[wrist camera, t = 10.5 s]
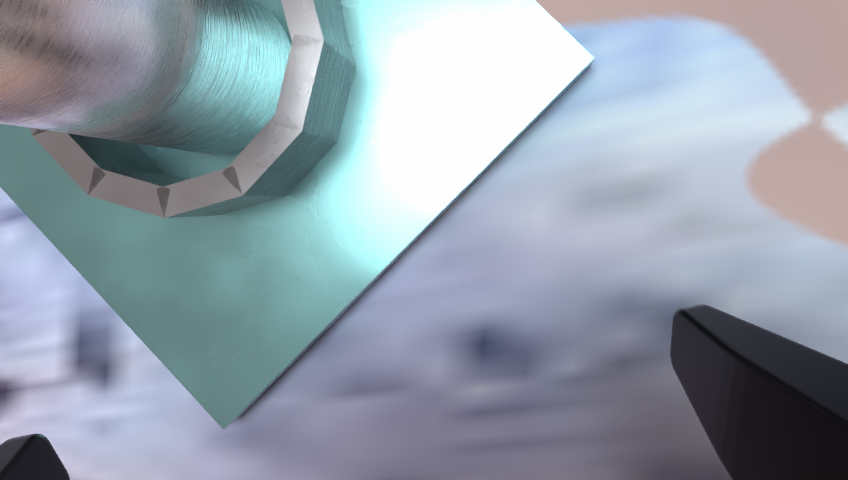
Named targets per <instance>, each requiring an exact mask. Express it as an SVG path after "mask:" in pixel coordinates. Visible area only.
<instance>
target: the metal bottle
mask: <svg viewBox="0 0 848 480" xmlns="http://www.w3.org/2000/svg"><path fill="white" fill-rule="evenodd" d="M290 48H291V44H290V41H289V38H288V36H287V34H286V32H285V30H284V28H283V26H282V25H281V23H280V22H279V20H278V19H277V18H276V17H275V16H274V14H273V13H272V12H271V11H270V10H269V9H268V8H266V7H265V6H264V5H263V4H262V3H260V2H259V1H258V0H0V124H7V125H14V126H21V127H27V128H34V129H41V130H48V131H55V132H62V133H68V134H75V135H82V136H89V137H96V138H103V139H109V140H116V141H123V142H130V143H137V144H144V145H151V146H157V147H164V148H171V149H178V150H185V151H192V152H198V153H205V154H214V155H224V154H232V153H236V152H240V151H243V150H244V149H245V147H246V146H247V145H248V144H249V143H250V142H251V141H252V140H253V139H254V138H255V136H256V135H257V134H258V133H259V132H260V131H261V130H262V129H263V128H264V127H265V125H266V124H267V123H268V122H269V121H270V120H271V119H272V118H273V117H274V115H275V112H276V108H277V104H278V99H279V95H280V91H281V87H282V82H283V78H284V74H285V70H286V65H287V61H288V57H289V53H290Z"/></svg>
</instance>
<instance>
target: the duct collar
mask: <svg viewBox="0 0 848 480" xmlns="http://www.w3.org/2000/svg"><path fill="white" fill-rule="evenodd" d="M258 1H259V2H260V3H262V4H263V5H264V6H265V7H266V8H268V9H269V10H270V11H271V12H272V13H273V14H274V16H275V17H276V18H277V19H278V20H279V22H280V23H281V25H282V26H283V28H284V30H285V32H286V34H287V36H288V38H289V41H290V44H291V48H290V53H289V57H288V61H287V65H286V70H285V74H284V78H283V82H282V87H281V91H280V95H279V99H278V104H277V108H276V112H275V115H274V117H273V118H272V119H271V120H270V121H269V122H268V123H267V124H266V125H265V127H264V128H263V129H262V130H261V131H260V132H259V133H258V134H257V135H256V136H255V138H254V139H253V140H252V141H251V142H250V143H249V144H248V145H247V146H246V147H245V149H244V150H243V151H240V152H236V153H232V154H224V155H214V154H205V153H198V152H192V151H185V150H178V149H171V148H164V147H157V146H151V145H144V144H137V143H130V142H123V141H116V140H109V139H103V138H96V137H89V136H82V135H75V134H68V133H62V132H55V131H48V130H41V129H34V128H27V127H21V126H14V125H7V124H0V187H1V188H2V189H3V190H4V191H5V192H6V193H7V195H8V196H9V197H10V198H11V199H12V200H13V201H14V202H15V203H16V204H17V205H18V206H19V208H20V209H21V210H22V211H23V212H24V213H25V214H26V215H27V216H28V217H29V218H30V220H31V221H32V222H33V223H34V224H35V225H36V226H37V227H38V228H39V229H40V230H41V231H42V233H43V234H44V235H45V236H46V237H47V238H48V239H49V240H50V241H51V242H52V243H53V245H54V246H55V247H56V248H57V249H58V250H59V251H60V252H61V253H62V254H63V255H64V256H65V258H66V259H67V260H68V261H69V262H70V263H71V264H72V265H73V266H74V267H75V268H76V270H77V271H78V272H79V273H80V274H81V275H82V276H83V277H84V278H85V279H86V280H87V281H88V283H89V284H90V285H91V286H92V287H93V288H94V289H95V290H96V291H97V292H98V293H99V295H100V296H101V297H102V298H103V299H104V300H105V301H106V302H107V303H108V304H109V305H110V306H111V308H112V309H113V310H114V311H115V312H116V313H117V314H118V315H119V316H120V317H121V318H122V320H123V321H124V322H125V323H126V324H127V325H128V326H129V327H130V328H131V329H132V330H133V331H134V333H135V334H136V335H137V336H138V337H139V338H140V339H141V340H142V341H143V342H144V343H145V345H146V346H147V347H148V348H149V349H150V350H151V351H152V352H153V353H154V354H155V355H156V356H157V358H158V359H159V360H160V361H161V362H162V363H163V364H164V365H165V366H166V367H167V368H168V370H169V371H170V372H171V373H172V374H173V375H174V376H175V377H176V378H177V379H178V380H179V381H180V383H181V384H182V385H183V386H184V387H185V388H186V389H187V390H188V391H189V392H190V393H191V395H192V396H193V397H194V398H195V399H196V400H197V401H198V402H199V403H200V404H201V405H202V406H203V408H204V409H205V410H206V411H207V412H208V413H209V414H210V415H211V416H212V417H213V418H214V420H215V421H216V422H217V423H218V424H219V425H220V426H221V427H222V428H223V429H225V428H226V427H227V426H229V425H230V424H231V423H233V422H234V421H235V420H236V419H238V418H239V417H240V416H241V415H242V414H243V413H244V412H245V411H246V410H247V409H248V408H249V407H250V406H251V405H252V404H253V403H254V402H255V401H256V400H257V399H258V398H259V397H260V396H261V395H262V394H263V393H264V392H265V391H266V390H267V389H268V388H269V387H270V386H271V385H272V384H273V383H274V382H275V381H276V380H277V379H278V378H279V377H280V376H281V375H282V374H283V373H284V372H285V371H286V370H287V369H288V368H289V367H290V366H291V365H292V364H293V363H294V362H295V361H296V360H297V359H298V358H299V357H300V356H301V355H302V354H303V353H304V352H305V351H306V350H307V349H308V348H309V347H310V346H311V345H312V344H313V343H314V342H315V341H316V340H317V339H318V338H319V337H320V336H321V335H322V334H323V333H324V332H325V331H326V330H327V329H328V328H329V327H330V326H331V325H332V324H333V323H334V322H335V321H336V320H337V319H338V318H339V317H340V316H341V315H342V314H343V313H344V312H345V311H346V310H347V309H348V308H349V307H350V306H351V305H352V304H353V303H354V302H355V301H356V300H357V299H358V298H359V297H360V296H361V295H362V294H363V293H364V292H365V291H366V290H367V289H368V288H369V287H370V286H371V285H372V284H373V283H374V282H375V281H376V280H377V279H378V278H379V277H380V276H381V275H382V274H383V273H384V272H385V271H386V270H387V269H388V268H389V267H390V266H391V265H392V264H393V263H394V262H395V261H396V260H397V259H398V258H399V257H400V256H401V255H402V254H403V253H404V252H405V251H406V250H407V249H408V248H409V247H410V246H411V245H412V244H413V243H414V242H415V241H416V240H417V239H418V238H419V237H420V236H421V235H422V234H423V233H424V232H425V231H426V230H427V229H428V228H429V227H430V226H431V225H432V224H433V223H434V222H435V221H436V220H437V219H438V218H439V217H440V216H441V215H442V214H443V213H444V212H445V211H446V210H447V209H448V208H449V207H450V206H451V205H452V204H453V203H454V202H455V201H456V200H457V199H458V198H459V197H460V196H461V195H462V194H463V193H464V192H465V191H466V190H467V189H468V188H469V187H470V186H471V185H472V184H473V183H474V182H475V181H476V180H477V179H478V178H479V177H480V176H481V175H482V174H483V173H484V172H485V171H486V170H487V169H488V168H489V167H490V166H491V165H492V164H493V163H494V162H495V161H496V160H497V159H498V158H499V157H500V156H501V155H502V154H503V153H504V152H505V151H506V150H507V149H508V148H509V147H510V146H511V145H512V144H513V143H514V142H515V141H516V140H517V139H518V138H519V137H520V136H521V135H522V134H523V133H524V132H525V131H526V130H527V129H528V128H529V127H530V126H531V125H532V124H533V123H534V122H535V121H536V120H537V119H538V118H539V117H540V116H541V115H542V114H543V113H544V112H545V111H546V110H547V109H548V108H549V107H550V106H551V105H552V104H553V103H554V102H555V101H556V100H557V99H558V98H559V97H560V96H561V95H562V94H563V93H564V92H565V91H566V90H567V89H568V88H569V87H570V86H571V85H572V84H573V83H574V82H575V81H576V80H577V79H578V78H579V77H580V76H581V75H582V74H583V73H584V72H585V71H586V70H587V69H588V68H589V67H590V66H591V64H592V62H593V60H594V57H593V56H592V55H591V54H590V53H589V52H588V51H587V50H586V49H585V48H583V47H582V46H581V45H580V44H579V43H578V42H577V41H576V40H575V39H574V38H573V37H572V36H571V35H570V34H569V33H568V32H567V31H566V30H565V29H564V28H563V27H562V26H561V25H560V24H559V23H558V22H557V21H556V20H555V19H554V18H552V16H551V15H549V14H548V13H547V12H546V11H545V10H544V9H543V8H542V7H541V6H540V5H539V4H538V3H537V2H536V1H535V0H258Z"/></svg>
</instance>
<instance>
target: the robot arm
mask: <svg viewBox="0 0 848 480" xmlns="http://www.w3.org/2000/svg"><path fill="white" fill-rule="evenodd" d="M670 356H671V362H672V365H673V368H674V370H675V372H676V374H677V376H678V378H679V380H680V382H681V384H682V386H683V388H684V390H685V392H686V394H687V396H688V398H689V400H690V402H691V404H692V406H693V408H694V410H695V412H696V414H697V416H698V418H699V420H700V422H701V424H702V426H703V428H704V430H705V432H706V434H707V436H708V438H709V440H710V442H711V444H712V446H713V447H714V449H715V451H716V453H717V455H718V457H719V458H720V460H721V462H722V463H723V465H724V467H725V468H726V470H727V472H728V473H729V475H730V476H731V478H732V480H848V364H846V363H844V362H842V361H839V360H837V359H834V358H832V357H830V356H827V355H825V354H823V353H820V352H818V351H815V350H813V349H811V348H808V347H806V346H803V345H801V344H799V343H796V342H794V341H791V340H789V339H787V338H784V337H782V336H780V335H777V334H775V333H772V332H770V331H768V330H765V329H763V328H760V327H758V326H756V325H753V324H751V323H748V322H746V321H744V320H741V319H739V318H737V317H734V316H732V315H729V314H727V313H725V312H722V311H720V310H717V309H715V308H713V307H710V306H707V305H703V304H701V305H695V306H690V307H684V308H680V309H678V310H677V311H676V312H675V314H674V317H673V325H672V338H671V350H670ZM0 480H70V478H69V475H68V472H67V470H66V469H65V467H64V465H63V464H62V462H61V460H60V459H59V457H58V455H57V454H56V452H55V450H54V449H53V447H52V445H51V443H50V442H49V440H48V439H47V438H46V437H45V436H44V435H42V434H31V435H26V436H21V437H16V438H12V439H9V440H7V441H5V442H4V443H3V444H1V445H0Z"/></svg>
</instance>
